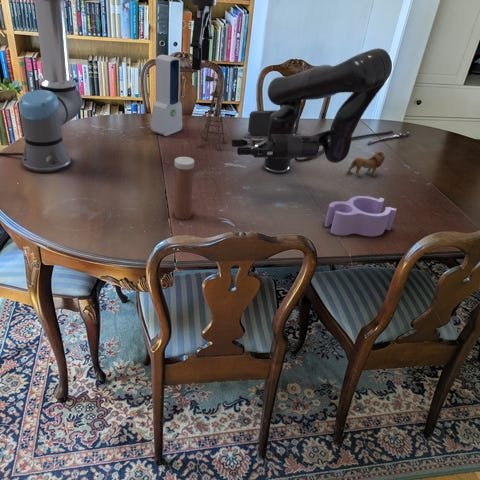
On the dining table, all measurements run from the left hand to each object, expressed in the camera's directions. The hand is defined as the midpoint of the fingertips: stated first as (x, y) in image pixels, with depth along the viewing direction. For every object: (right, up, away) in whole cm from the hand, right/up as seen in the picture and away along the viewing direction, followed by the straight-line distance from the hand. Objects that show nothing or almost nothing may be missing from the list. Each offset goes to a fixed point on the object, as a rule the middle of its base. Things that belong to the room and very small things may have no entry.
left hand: (200, 65), depth 149 cm
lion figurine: (+60, -31, +28) cm, 73 cm away
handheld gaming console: (+27, -9, +56) cm, 63 cm away
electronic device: (-18, -10, +47) cm, 51 cm away
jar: (-4, -49, -10) cm, 50 cm away
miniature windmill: (+1, -18, +39) cm, 43 cm away
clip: (+48, -52, -6) cm, 71 cm away
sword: (+81, -10, +64) cm, 104 cm away
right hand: (+11, -28, -7) cm, 30 cm away
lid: (-3, -34, -19) cm, 39 cm away
